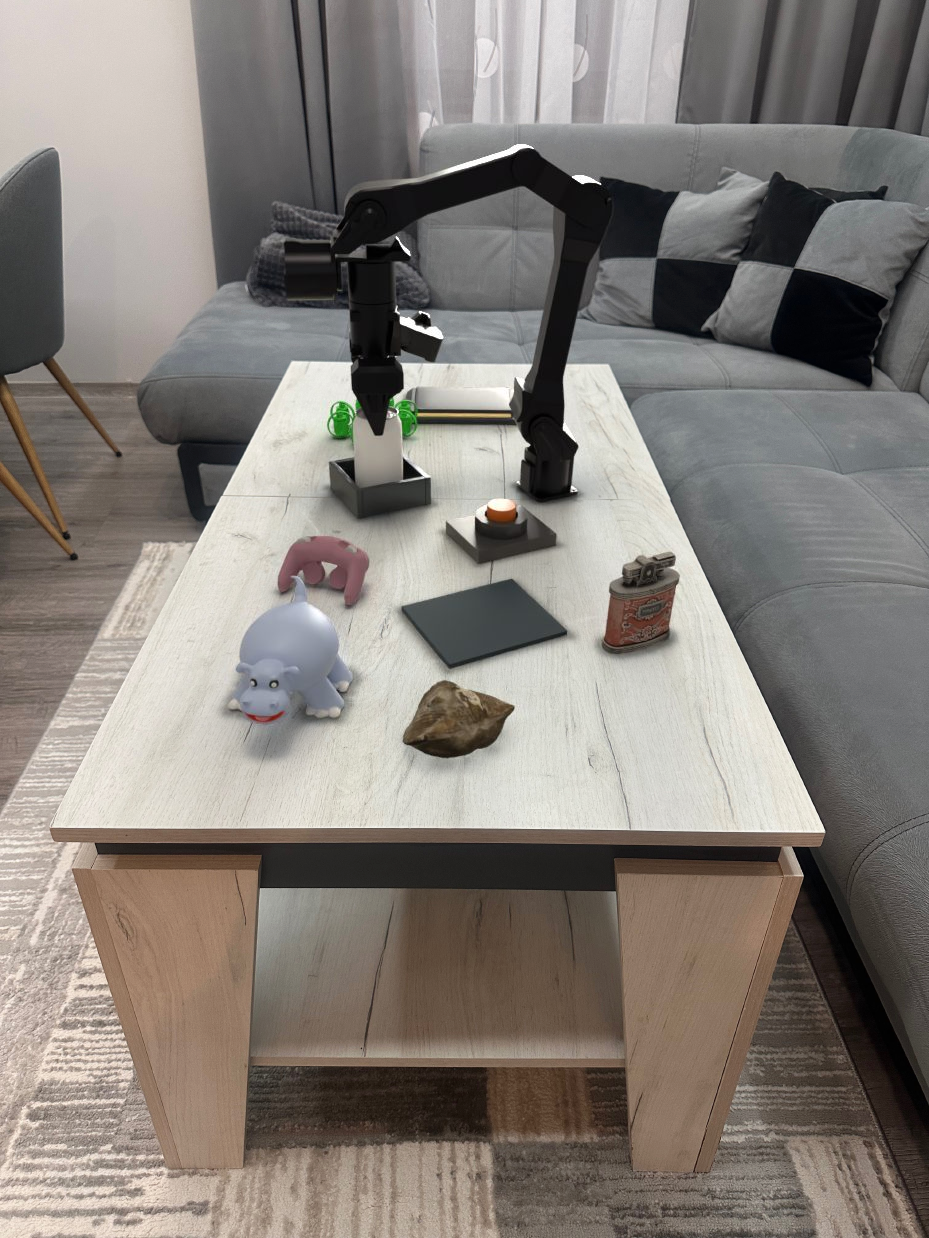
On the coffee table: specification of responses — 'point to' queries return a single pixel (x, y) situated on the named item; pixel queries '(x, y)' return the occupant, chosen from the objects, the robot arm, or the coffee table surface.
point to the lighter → (641, 604)
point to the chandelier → (343, 412)
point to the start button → (501, 510)
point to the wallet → (461, 405)
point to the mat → (482, 622)
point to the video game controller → (330, 550)
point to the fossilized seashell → (455, 721)
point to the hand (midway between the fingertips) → (377, 422)
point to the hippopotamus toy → (290, 663)
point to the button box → (500, 535)
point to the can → (377, 450)
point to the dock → (380, 489)
